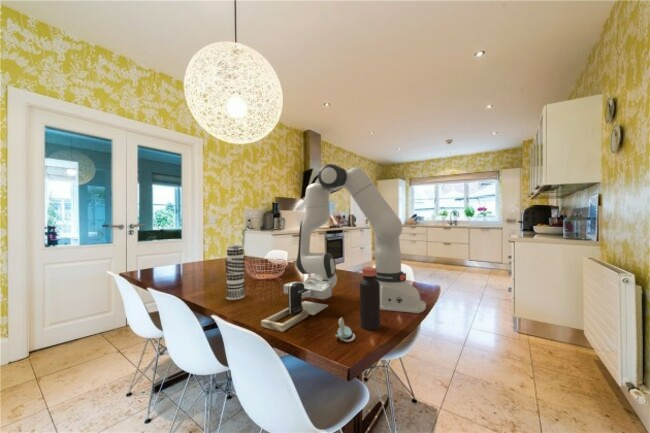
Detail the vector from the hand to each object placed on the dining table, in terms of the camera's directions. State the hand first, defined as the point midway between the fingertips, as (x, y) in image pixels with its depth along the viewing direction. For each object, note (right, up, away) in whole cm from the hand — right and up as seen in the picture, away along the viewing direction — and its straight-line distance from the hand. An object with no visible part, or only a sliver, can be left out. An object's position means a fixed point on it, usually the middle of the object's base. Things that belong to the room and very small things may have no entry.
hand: (295, 295), depth 101 cm
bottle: (+27, -8, -11) cm, 30 cm away
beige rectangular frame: (-3, -8, -5) cm, 10 cm away
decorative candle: (-32, -9, +25) cm, 41 cm away
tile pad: (+5, -8, +8) cm, 12 cm away
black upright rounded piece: (+1, -7, 0) cm, 7 cm away
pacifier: (+18, -8, -19) cm, 27 cm away
